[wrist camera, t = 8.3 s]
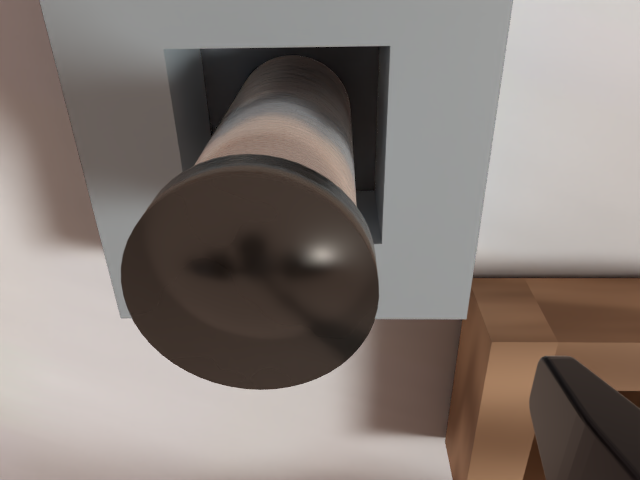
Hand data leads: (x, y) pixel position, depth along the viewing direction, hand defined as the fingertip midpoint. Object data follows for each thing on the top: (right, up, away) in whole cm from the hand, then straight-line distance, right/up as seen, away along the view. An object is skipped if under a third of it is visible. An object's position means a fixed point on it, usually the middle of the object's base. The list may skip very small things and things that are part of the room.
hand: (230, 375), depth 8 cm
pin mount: (+13, -4, +17) cm, 21 cm away
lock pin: (0, +6, +11) cm, 13 cm away
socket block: (0, +6, +11) cm, 13 cm away
